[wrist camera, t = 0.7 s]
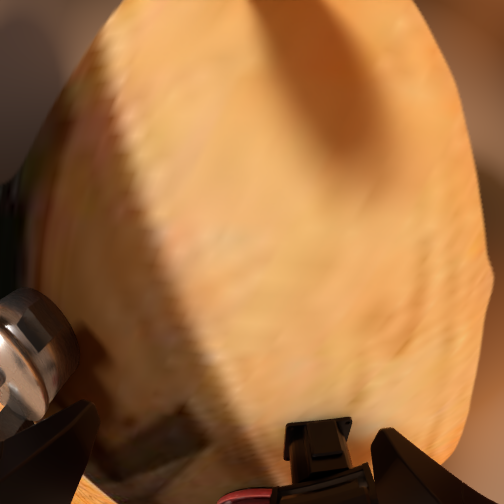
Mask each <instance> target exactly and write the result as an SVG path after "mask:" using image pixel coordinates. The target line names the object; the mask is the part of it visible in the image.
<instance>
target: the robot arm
mask: <svg viewBox="0 0 504 504" xmlns="http://www.w3.org/2000/svg"><path fill="white" fill-rule="evenodd" d="M351 425H352V419H351V417H344V418H336V419H328V420H319V421H308V422H296V423H288V424H287V425H286V428H285V441H284V454H283V458H284V460H286V461H290V464H291V475H292V485H287V486H282V487H279V486H277V487H273V488H272V494H271V495H270V502H269V504H497V503H495V502H494V501H492V500H490V499H488V498H486V497H484V496H483V495H481V494H480V493H478V492H477V491H475V490H474V489H472V488H471V487H469V486H468V485H466V484H465V483H462V481H461V480H459V479H458V478H457V477H455V476H454V475H452V474H451V473H450V472H449V471H447V470H446V469H445V468H443V467H442V466H441V465H439V464H438V463H437V462H436V461H434V460H433V459H432V458H430V457H429V456H428V455H426V454H425V453H424V452H423V451H421V450H420V449H419V448H418V447H416V446H415V445H414V444H412V443H411V442H410V441H409V440H407V439H406V438H405V437H404V436H402V435H401V434H400V433H399V432H398V431H396V430H395V429H394V428H391V427H389V428H382V429H380V430H379V431H378V433H377V435H376V437H375V439H374V440H373V442H372V444H371V456H372V464H373V472H374V479H373V476H372V473H371V470H370V467H369V465H368V462H366V463H363V464H362V465H360V466H357V467H355V468H353V465H352V461H351V458H350V454H349V450H348V447H347V443H346V442H347V438H348V435H349V432H350V429H351ZM99 426H100V418H99V415H98V412H97V409H96V406H95V404H94V403H93V402H91V401H88V400H84V399H83V400H80V401H78V402H76V403H74V404H73V405H71V406H69V407H67V408H65V409H63V410H61V411H60V412H58V413H56V414H54V415H52V416H50V417H48V418H46V419H44V420H42V421H41V422H39V423H37V424H35V425H33V426H31V427H29V428H27V429H25V430H23V431H21V432H19V433H17V434H15V435H13V436H11V437H9V438H7V439H5V440H4V441H0V504H71V501H72V499H73V496H74V494H75V491H76V489H77V487H78V484H79V482H80V480H81V477H82V475H83V473H84V470H85V468H86V466H87V463H88V461H89V458H90V455H91V452H92V448H93V445H94V442H95V438H96V435H97V432H98V429H99ZM290 427H291V428H290ZM374 481H375V482H374Z"/></svg>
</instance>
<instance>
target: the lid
mask: <svg viewBox="0 0 504 504" xmlns="http://www.w3.org/2000/svg"><path fill="white" fill-rule="evenodd" d="M0 403H1V404H2V405H4V406H5V407H4V408H3V409H2V410H1V412H0V441H4V440H5V439H7V438H9V437H11V436H13V435H15V434H17V433H19V432H21V431H23V430H25V429H27V428H29V427H31V426H33V425H35V424H34V422H33V421H38V420H40V419H41V418H42V417H43V416H44V414H45V413H46V411H47V410H48V408H49V396H48V392H47V389H46V386H45V384H44V382H43V380H42V378H41V375H40V374H39V372H38V370H37V368H36V367H35V365H34V364H33V362H32V360H31V359H30V357H29V356H28V355H27V353H26V352H25V350H24V349H23V348H22V346H21V345H20V344H19V343H18V342H17V340H16V339H15V338H14V337H13V336H12V335H11V334H10V332H9V331H8V330H7V329H6V328H5V327H4V326H2V325H1V324H0Z"/></svg>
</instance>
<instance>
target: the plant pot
mask: <svg viewBox="0 0 504 504" xmlns="http://www.w3.org/2000/svg"><path fill="white" fill-rule="evenodd" d="M271 494H272V489H264V488H257V489H252V488H247V489H245V490H239V491H235V492H231V493H229V494H226V495H225V496H223V497H221V498H220V499H219V500H218V502H217V504H269V502H270V495H271Z"/></svg>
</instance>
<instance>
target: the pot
mask: <svg viewBox="0 0 504 504" xmlns="http://www.w3.org/2000/svg"><path fill="white" fill-rule="evenodd" d="M0 324H1V325H2V326H4V327H5V328H6V329H7V330H8V331H9V332H10V334H11V335H12V336H13V337H14V338H15V339H16V340H17V342H18V343H19V344H20V345H21V346H22V348H23V349H24V350H25V352H26V353H27V355H28V356H29V357H30V359H31V360H32V362H33V364H34V365H35V367H36V368H37V370H38V372H39V374H40V375H41V378H42V380H43V382H44V384H45V386H46V389H47V392H48V396H49V403H50V402H51V401H52V399H53V398H54V397H55V395H56V394H57V393H58V392H59V390H60V389H61V388H62V386H63V385H64V384H65V382H66V381H67V380H68V379H69V377H70V376H71V375H72V373H73V372H74V371H75V370H76V368H77V366H78V364H79V358H80V357H79V347H78V343H77V340H76V337H75V334H74V332H73V330H72V328H71V326H70V324H69V322H68V321H67V319H66V318H65V316H64V315H63V314H62V312H61V311H60V310H59V309H58V307H57V306H56V305H55V304H54V303H53V302H52V301H51V300H50V299H48V298H47V297H46V296H45V295H43V294H42V293H40V292H38V291H36V290H34V289H31V288H19V289H17V290H15V291H14V292H12V293H10V294H9V295H7V296H6V297H4V298H3V299H1V300H0Z"/></svg>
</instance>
